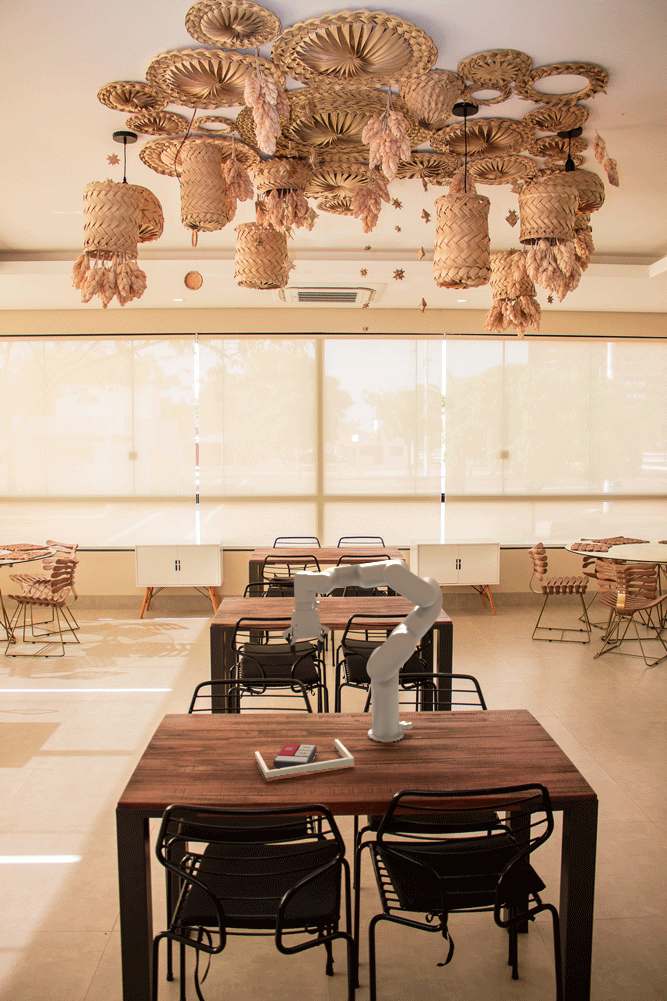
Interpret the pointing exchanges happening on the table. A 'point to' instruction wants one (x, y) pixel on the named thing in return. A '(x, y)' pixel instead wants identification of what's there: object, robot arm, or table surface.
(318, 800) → the table surface
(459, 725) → the table surface
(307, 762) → the calculator
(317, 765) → the slot
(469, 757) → the table surface
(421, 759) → the table surface
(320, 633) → the robot arm
